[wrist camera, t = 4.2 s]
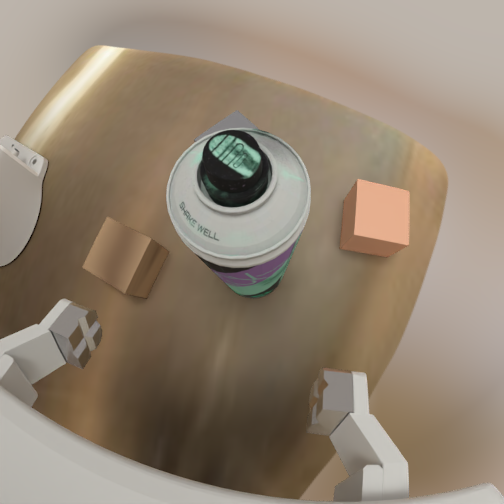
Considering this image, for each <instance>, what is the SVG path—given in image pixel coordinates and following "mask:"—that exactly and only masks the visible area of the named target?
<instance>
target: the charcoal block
mask: <svg viewBox="0 0 504 504" xmlns="http://www.w3.org/2000/svg"><path fill="white" fill-rule="evenodd" d="M230 128H251V129H258V128H257V127H256V126H255V125H254V124H252V123H251V122H250V121H249V120H248V119H247V118H246V117H244V116H243V115H242V114H241V113H240V112H239V111H238V110H237V111H235V112H233V113H232V114H230V115H229V116H227V117H226V118H224V119H223V120H221V121H220V122H218V123H217V124H215V125H214V126H213V127H211V128H210V129H208V130H207V131H205V132H204V133H202V134H201V135H200V136H198V137H197V138H195V139H194V141H195V142H197V141H198V140H200V139H202V138H203V137H205V136H207V135H209V134H212V133H214V132H217V131H221V130H225V129H230ZM258 130H259V129H258Z"/></svg>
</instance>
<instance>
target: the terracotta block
mask: <svg viewBox="0 0 504 504" xmlns="http://www.w3.org/2000/svg"><path fill="white" fill-rule="evenodd" d="M407 246H409V191H406V190H402V189H398V188H394V187H390V186H386V185H382V184H377V183H373V182H369V181H364V180H360V179H357V181H356V182H355V184H354V186H353V187H352V189H351V190H350V192H349V193H348V195H347V197H346V198H345V200H344V206H343V218H342V229H341V239H340V248H339V249H343V250H349V251H355V252H360V253H366V254H372V255H377V256H383V257H389V256H390V255H392V254H394V253H396V252H398V251H400V250H401V249H403V248H405V247H407Z"/></svg>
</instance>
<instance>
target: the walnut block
mask: <svg viewBox="0 0 504 504" xmlns="http://www.w3.org/2000/svg"><path fill="white" fill-rule="evenodd" d="M168 253H169V251H167V250H166V249H165V248H163V247H162V246H161V245H159V244H158V243H157V242H155V241H154V240H153V239H152V238H149V237H147V236H145V235H143V234H141V233H139V232H137V231H135V230H133V229H131V228H129V227H127V226H125V225H123V224H121V223H119V222H117V221H115V220H113V219H111V218H109V217H107V218H106V220H105V222H104V224H103V226H102V228H101V230H100V232H99V234H98V236H97V238H96V240H95V242H94V244H93V246H92V248H91V250H90V252H89V254H88V256H87V259H86V261H85V263H84V265H83V267H82V268H84V269H86V270H87V271H89V272H90V273H92V274H93V275H95V276H97V277H98V278H100V279H101V280H103V281H105V282H106V283H108V284H109V285H111V286H113V287H114V288H116V289H118V290H119V291H121V292H123V293H124V294H128V295H133V296H137V297H142V298H147V297H148V295H149V293H150V290H151V288H152V286H153V284H154V282H155V280H156V278H157V276H158V274H159V271H160V269H161V267H162V265H163V263H164V261H165V259H166V257H167V255H168Z"/></svg>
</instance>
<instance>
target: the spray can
mask: <svg viewBox="0 0 504 504" xmlns="http://www.w3.org/2000/svg"><path fill="white" fill-rule="evenodd" d="M310 194H311V188H310V179H309V176H308V173H307V170H306V167H305V165H304V163H303V161H302V160H301V158H300V156H299V155H298V154H297V153H296V152H295V150H294V149H293V148H292V147H291V146H290V145H289V144H287V143H286V142H284V141H283V140H282V139H280V138H279V137H277V136H275V135H272V134H270V133H268V132H265V131H261V130H258V129H251V128H230V129H225V130H221V131H217V132H214V133H212V134H209V135H207V136H205V137H203V138H202V139H200V140H198V141H197V142H195V143H194V144H193V145H191V146H190V147H189V148H188V149H187V150H186V151H185V152H184V153H183V154H182V155H181V157H180V158H179V159H178V161H177V162H176V164H175V166H174V168H173V170H172V171H171V174H170V177H169V181H168V184H167V193H166V200H167V208H168V212H169V215H170V218H171V220H172V223H173V224H174V227H175V230H176V232H177V233H178V235H179V236H180V238H181V239H182V241H183V242H184V243H185V244H186V245H187V246H188V247H189V248H190V249H191V250H192V251H193V252H194V253H195V254H196V255H197V256H198V257H199V258H200V259H201V260H202V261H203V262H204V263H205V264H206V265H207V266H208V267H209V268H210V269H211V270H212V271H213V272H214V273H215V274H216V275H217V276H218V277H219V278H221V279H222V280H223V281H224V282H225V283H226V284H227V285H228V286H229V287H230V288H231V289H232V290H233V291H234V292H236V293H237V294H239V295H241V296H243V297H247V298H259V297H263V296H266V295H268V294H269V293H271V292H272V291H274V289H275V288H276V287H277V286H278V285H279V283H280V282H281V279H282V277H283V275H284V273H285V270H286V268H287V266H288V263H289V261H290V259H291V257H292V254H293V252H294V250H295V247H296V245H297V243H298V240H299V238H300V235H301V233H302V231H303V228H304V226H305V223H306V220H307V217H308V214H309V209H310V201H311V199H310Z"/></svg>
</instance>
